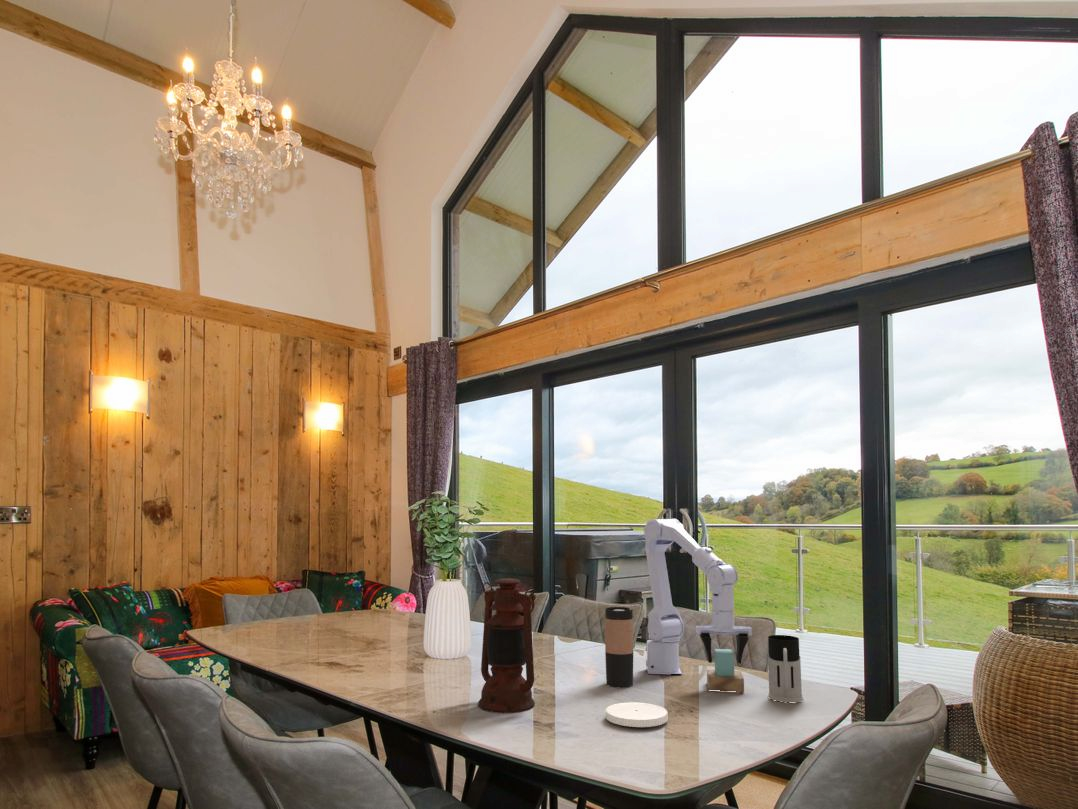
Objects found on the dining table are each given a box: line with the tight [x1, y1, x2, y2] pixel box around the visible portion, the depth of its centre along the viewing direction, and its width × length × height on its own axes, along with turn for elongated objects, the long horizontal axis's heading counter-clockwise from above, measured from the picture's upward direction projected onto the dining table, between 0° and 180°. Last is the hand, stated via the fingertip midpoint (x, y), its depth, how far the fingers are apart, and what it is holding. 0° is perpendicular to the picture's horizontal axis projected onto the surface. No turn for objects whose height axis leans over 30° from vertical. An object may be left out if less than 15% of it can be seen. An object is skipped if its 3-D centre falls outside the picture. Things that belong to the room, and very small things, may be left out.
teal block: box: [713, 648, 735, 676], centre depth 199 cm, size 4×4×6 cm
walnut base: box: [706, 669, 745, 693], centre depth 198 cm, size 9×9×4 cm
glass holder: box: [767, 634, 805, 703], centre depth 186 cm, size 9×14×15 cm, turn 164°
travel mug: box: [604, 606, 634, 688], centre depth 202 cm, size 8×8×20 cm
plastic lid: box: [605, 701, 669, 728], centre depth 169 cm, size 14×14×2 cm
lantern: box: [477, 577, 537, 714], centre depth 183 cm, size 17×14×30 cm
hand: (724, 662), depth 199 cm, fingers open, 7 cm apart
